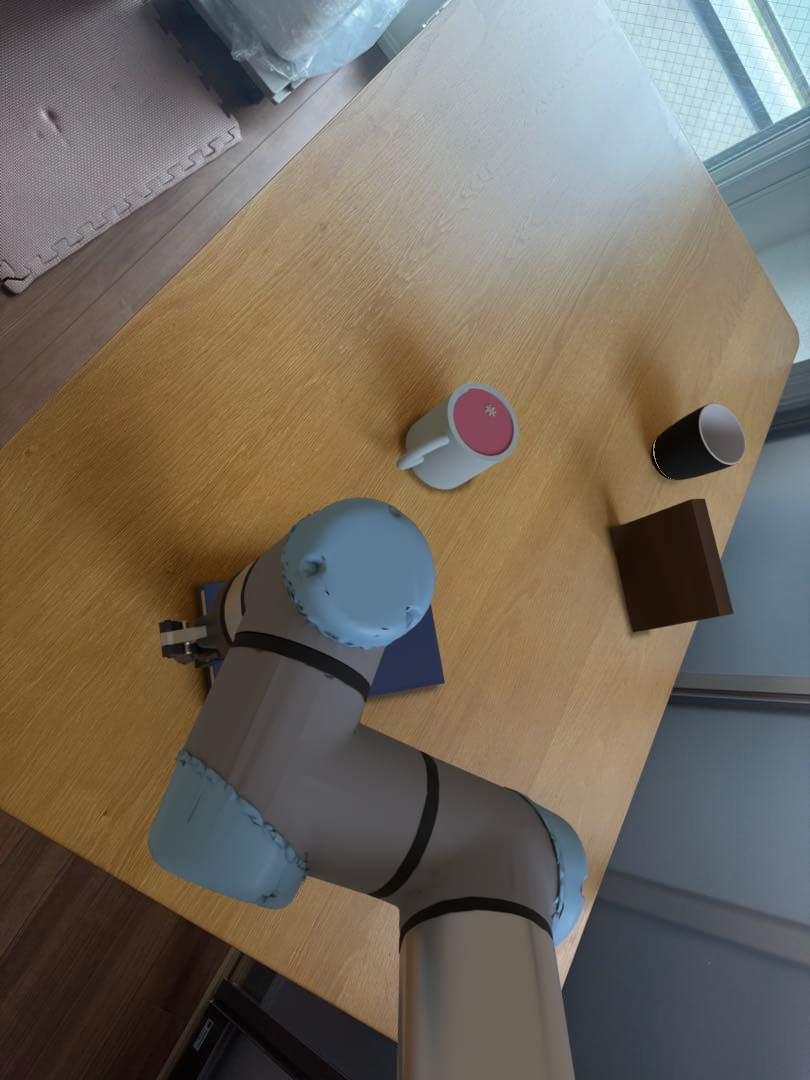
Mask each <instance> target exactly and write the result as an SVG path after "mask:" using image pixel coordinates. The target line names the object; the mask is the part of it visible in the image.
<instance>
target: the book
mask: <svg viewBox="0 0 810 1080" xmlns="http://www.w3.org/2000/svg"><path fill="white" fill-rule="evenodd" d="M226 582H227V581H219V582H209V583H203V585H202V587H203V588H198V589H197V596H198V597H197V598H198V606H199V614H200V617H201V616H204V615H208V614H209V613H210V610H211V607H212V604H213V602H214V599H215V597H216V595H217V593H218V592H219V590H220V589H221V588H222V586H223V585H224V584H225V583H226ZM432 607H433V606H432V602H431V603H430V605H429V608H428V610H427V611H426V613H425V615H424V616H423V617H422V619H421V620H420V621H419V622H418V623H417V624H416V625H415V626H414V627H413V628H412V629H411V630H409V631H408V632H407V633H406V634H404V635H403V636H401V637H400V638H398V639H396V640H394V641H393V643H392V644H388V645H387V646H386V647H385V649H384V652H383V654H382V657H381V660H380V663H379V665H378V668H377V671H376V674H375V677H374V679H373V682H372V685H371V688H370V689H371V690H370V693H369V695H368V698H372V697H378V696H383V695H388V694H394V693H399V692H404V691H405V692H406V691H412V690H416V689H423V688H428V687H434V686H439V685H444V684H446V682H445V675H444V671H443V670H444V669H443V665H442V664H443V663H442V659H441V654H440V653H441V652H440V647H439V641H438V636H437V631H436V624H435V618H434V614H433V608H432ZM223 662H224V661H223ZM223 662H221V663H218V664H216V665H213V666H211V667H206V675H207V683H208V692H209V691H210V689H211V687H212V685H213V683H214V681H215V679H216V677H217V675H218V672H219V670H220V668H221V666H222V664H223Z"/></svg>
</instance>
